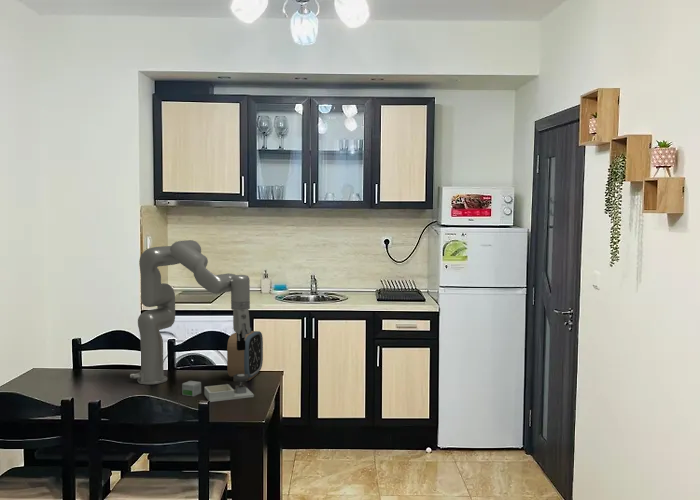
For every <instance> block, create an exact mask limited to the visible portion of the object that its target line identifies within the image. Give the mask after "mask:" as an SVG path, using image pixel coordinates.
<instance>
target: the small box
mask: <svg viewBox="0 0 700 500" xmlns="http://www.w3.org/2000/svg"><path fill="white" fill-rule="evenodd" d="M181 391H182V392H181V394H182V396H187V397H196V396H198V395H200V394H202V381H195V380H188V381H186V382H183V383H181Z"/></svg>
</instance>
